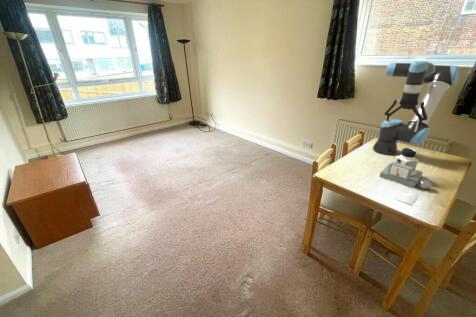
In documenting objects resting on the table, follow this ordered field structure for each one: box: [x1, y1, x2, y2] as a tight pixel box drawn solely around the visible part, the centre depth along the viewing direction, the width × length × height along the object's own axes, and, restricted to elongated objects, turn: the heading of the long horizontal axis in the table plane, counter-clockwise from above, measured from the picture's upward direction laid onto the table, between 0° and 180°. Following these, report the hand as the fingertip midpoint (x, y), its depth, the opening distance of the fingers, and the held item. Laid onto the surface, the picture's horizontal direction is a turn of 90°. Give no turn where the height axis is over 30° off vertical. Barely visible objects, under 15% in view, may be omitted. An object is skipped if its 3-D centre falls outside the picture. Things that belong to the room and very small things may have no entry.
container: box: [393, 147, 419, 172], centre depth 129 cm, size 8×8×13 cm
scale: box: [379, 161, 424, 188], centre depth 130 cm, size 18×17×10 cm
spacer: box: [416, 178, 432, 192], centre depth 121 cm, size 5×5×4 cm
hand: (401, 128), depth 132 cm, fingers open, 13 cm apart
